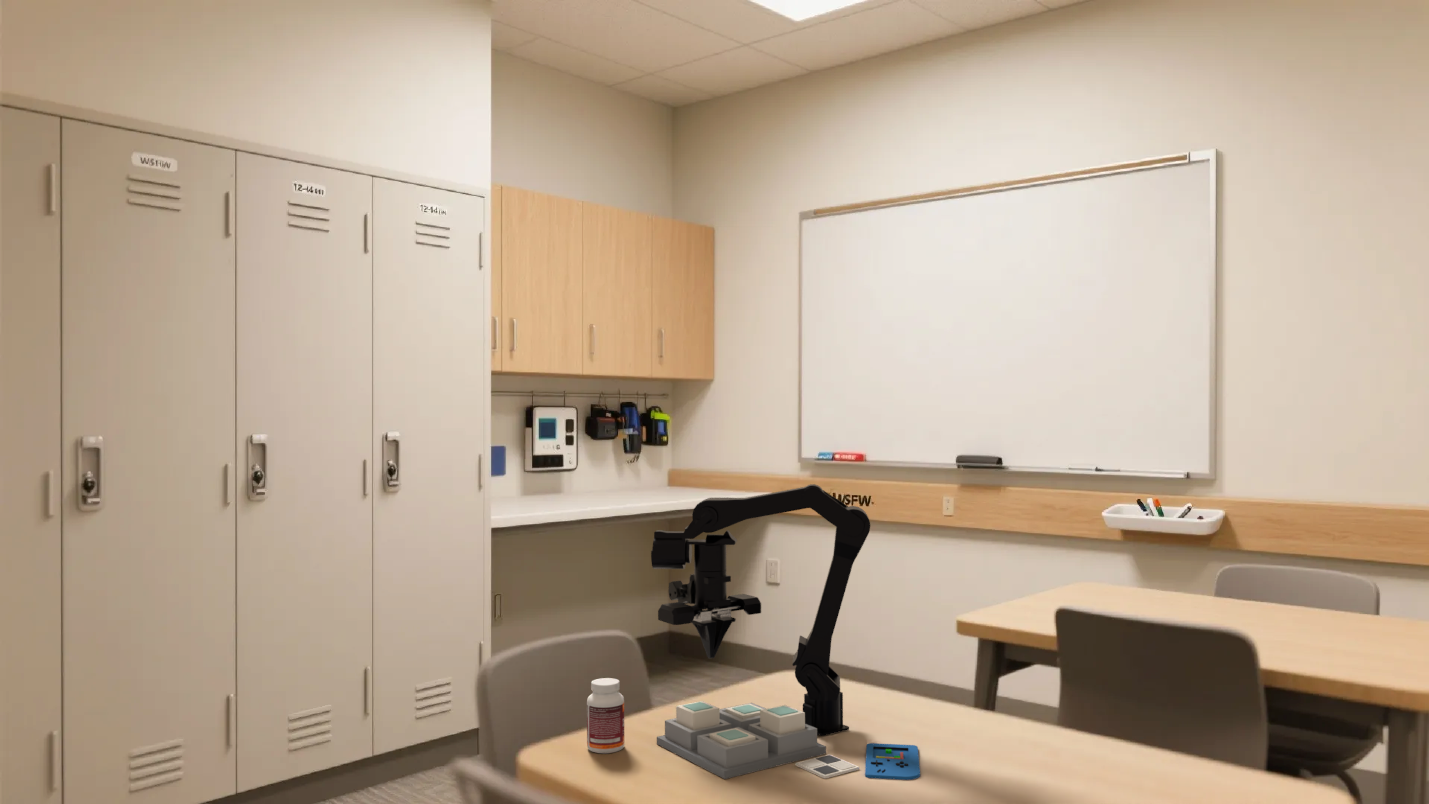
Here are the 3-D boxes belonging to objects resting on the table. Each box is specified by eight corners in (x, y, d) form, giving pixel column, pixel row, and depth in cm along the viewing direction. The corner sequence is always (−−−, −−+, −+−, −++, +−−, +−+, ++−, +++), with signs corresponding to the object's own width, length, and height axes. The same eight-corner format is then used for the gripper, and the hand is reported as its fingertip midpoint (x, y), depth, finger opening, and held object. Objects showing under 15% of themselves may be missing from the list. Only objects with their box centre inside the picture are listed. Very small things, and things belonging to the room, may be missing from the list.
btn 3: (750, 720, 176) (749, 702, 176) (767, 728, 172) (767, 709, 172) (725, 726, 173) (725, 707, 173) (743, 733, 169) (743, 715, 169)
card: (829, 756, 162) (829, 753, 162) (859, 769, 156) (859, 766, 156) (795, 765, 158) (795, 762, 158) (824, 778, 152) (824, 775, 152)
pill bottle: (631, 750, 166) (631, 682, 166) (597, 757, 162) (597, 688, 162) (613, 740, 171) (613, 674, 171) (580, 746, 167) (580, 680, 167)
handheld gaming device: (864, 772, 152) (866, 741, 167) (865, 780, 152) (866, 747, 167) (920, 775, 151) (917, 743, 166) (920, 783, 151) (917, 750, 166)
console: (753, 723, 180) (752, 700, 180) (826, 753, 163) (825, 728, 163) (656, 743, 168) (656, 719, 168) (724, 779, 152) (724, 752, 152)
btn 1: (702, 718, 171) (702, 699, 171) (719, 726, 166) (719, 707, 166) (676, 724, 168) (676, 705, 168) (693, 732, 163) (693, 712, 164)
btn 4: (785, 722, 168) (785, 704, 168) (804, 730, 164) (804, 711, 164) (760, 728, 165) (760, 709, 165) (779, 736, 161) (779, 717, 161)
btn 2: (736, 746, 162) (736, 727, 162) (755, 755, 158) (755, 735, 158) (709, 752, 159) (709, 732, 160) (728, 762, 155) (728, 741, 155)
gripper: (727, 559, 190) (728, 642, 190) (642, 568, 180) (642, 656, 180) (762, 567, 181) (763, 653, 181) (674, 576, 171) (675, 668, 170)
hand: (710, 657), depth 178 cm, fingers closed
